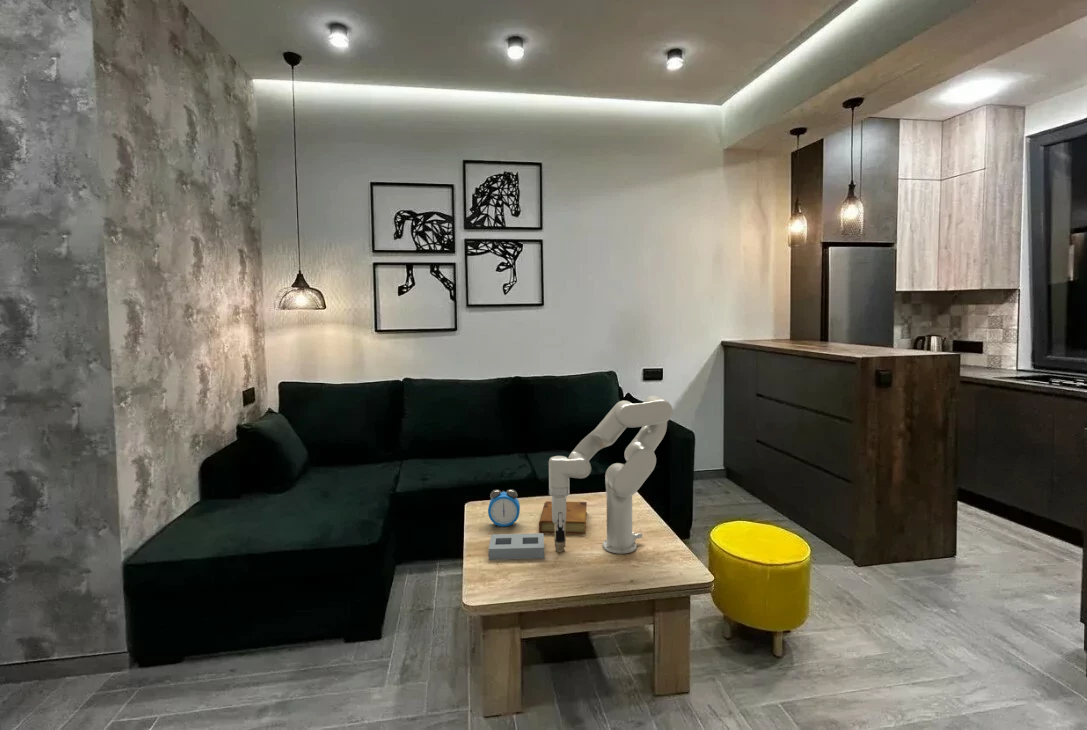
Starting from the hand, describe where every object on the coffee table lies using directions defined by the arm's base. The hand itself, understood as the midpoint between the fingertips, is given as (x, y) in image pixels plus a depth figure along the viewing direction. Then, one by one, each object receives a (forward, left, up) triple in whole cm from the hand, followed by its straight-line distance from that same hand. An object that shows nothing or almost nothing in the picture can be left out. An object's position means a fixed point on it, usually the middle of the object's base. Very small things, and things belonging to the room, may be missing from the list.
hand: (560, 537), depth 202 cm
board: (+14, -8, -5) cm, 17 cm away
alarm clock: (+6, -34, -5) cm, 35 cm away
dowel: (0, 0, -5) cm, 5 cm away
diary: (-16, -22, -5) cm, 28 cm away
